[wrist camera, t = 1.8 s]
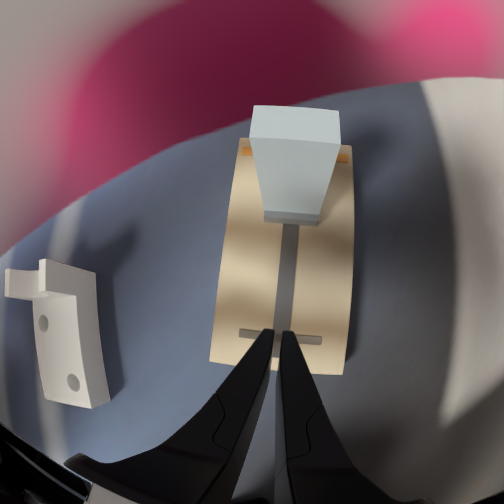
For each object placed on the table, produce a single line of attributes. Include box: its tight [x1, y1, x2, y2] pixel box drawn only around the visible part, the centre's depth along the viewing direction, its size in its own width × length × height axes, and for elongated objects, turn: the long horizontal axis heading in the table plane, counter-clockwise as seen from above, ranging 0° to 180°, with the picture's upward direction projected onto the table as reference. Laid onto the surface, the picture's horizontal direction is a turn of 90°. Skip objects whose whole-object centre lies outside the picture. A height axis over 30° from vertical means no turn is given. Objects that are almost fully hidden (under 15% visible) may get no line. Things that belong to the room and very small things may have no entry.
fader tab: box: [249, 106, 341, 226], centre depth 16 cm, size 3×4×10 cm
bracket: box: [5, 258, 111, 409], centre depth 20 cm, size 13×7×8 cm, turn 8°
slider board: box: [210, 138, 354, 375], centre depth 22 cm, size 19×10×2 cm, turn 174°
